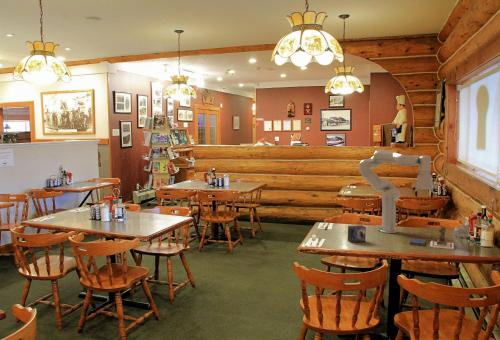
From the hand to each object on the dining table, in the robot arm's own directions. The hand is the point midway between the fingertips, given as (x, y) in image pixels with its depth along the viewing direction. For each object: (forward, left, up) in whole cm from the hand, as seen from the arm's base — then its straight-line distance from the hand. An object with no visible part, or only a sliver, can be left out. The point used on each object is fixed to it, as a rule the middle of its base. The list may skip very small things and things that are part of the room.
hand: (423, 197), depth 298 cm
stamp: (+13, -20, -28) cm, 36 cm away
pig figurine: (+26, +11, -29) cm, 40 cm away
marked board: (+13, -20, -28) cm, 37 cm away
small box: (-40, -33, -29) cm, 59 cm away
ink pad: (-2, -20, -28) cm, 35 cm away
